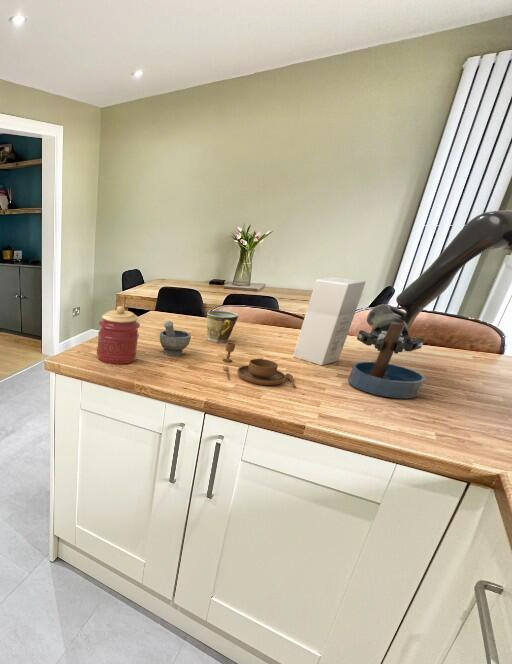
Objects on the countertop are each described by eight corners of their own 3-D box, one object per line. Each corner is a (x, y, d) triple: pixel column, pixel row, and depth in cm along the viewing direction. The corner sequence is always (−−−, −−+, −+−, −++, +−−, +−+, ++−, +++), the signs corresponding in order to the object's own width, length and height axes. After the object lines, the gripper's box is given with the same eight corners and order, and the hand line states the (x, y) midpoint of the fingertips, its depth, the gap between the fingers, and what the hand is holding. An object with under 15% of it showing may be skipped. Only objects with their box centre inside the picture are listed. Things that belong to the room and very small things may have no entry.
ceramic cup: (198, 335, 153) (203, 310, 149) (226, 336, 152) (232, 310, 147) (210, 346, 141) (215, 319, 137) (240, 347, 140) (246, 319, 136)
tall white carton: (309, 352, 133) (333, 276, 123) (338, 360, 126) (366, 281, 116) (292, 357, 130) (315, 279, 120) (321, 365, 123) (348, 284, 112)
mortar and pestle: (167, 346, 143) (172, 313, 138) (192, 353, 136) (199, 319, 131) (149, 353, 137) (153, 319, 132) (174, 361, 130) (180, 325, 125)
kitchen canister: (121, 368, 126) (127, 313, 119) (88, 357, 135) (91, 306, 128) (143, 357, 134) (150, 305, 126) (110, 348, 143) (115, 299, 135)
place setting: (227, 382, 114) (231, 363, 111) (220, 358, 131) (223, 341, 128) (299, 390, 108) (306, 370, 105) (282, 364, 125) (287, 346, 122)
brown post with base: (387, 379, 108) (411, 322, 101) (387, 385, 105) (411, 327, 98) (363, 375, 111) (384, 319, 104) (362, 380, 108) (384, 323, 101)
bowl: (415, 386, 108) (423, 369, 106) (418, 405, 98) (427, 387, 96) (348, 374, 117) (354, 358, 114) (345, 390, 107) (351, 373, 105)
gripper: (361, 315, 116) (358, 329, 104) (429, 323, 107) (434, 339, 96) (353, 340, 119) (349, 356, 107) (418, 349, 110) (421, 368, 99)
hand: (389, 348), depth 102 cm, fingers closed on brown post with base, 2 cm apart
